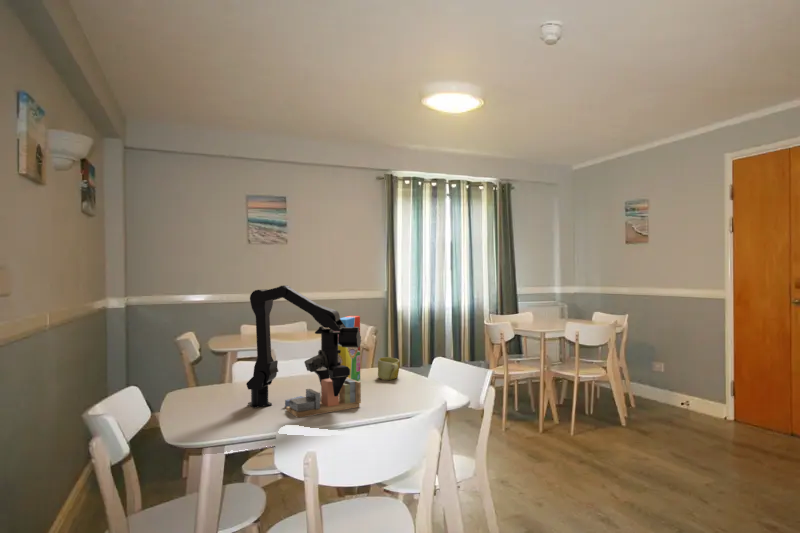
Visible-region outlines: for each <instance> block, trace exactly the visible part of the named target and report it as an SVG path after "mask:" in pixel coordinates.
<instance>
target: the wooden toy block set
mask: <svg viewBox="0 0 800 533" xmlns="http://www.w3.org/2000/svg"><path fill="white" fill-rule="evenodd" d="M361 388H362V385H361V382H360V381H359V380H358V381H356V380H353V379H350V378H346V380H345V382H344V384H343V386H342V388H341V390H340V392H339V405H333V406H326V405H324V404H322V403H321V400H320V409H313V410H307V411H301V412H297V411H295V410H293V409H292V408H290V407H289V406H288V407H285V408H286V409H285V410H287V411H286V412H288V413H290V415H293V416H295V417H296V418H304V417H308V416H314V415H320V414H326V413H331V412H338V411H343V410H348V409H354V408H360V404H361V403H362V396H361V394H362V393H361V392H362V389H361Z"/></svg>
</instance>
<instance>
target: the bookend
mask: <svg viewBox="0 0 800 533" xmlns="http://www.w3.org/2000/svg"><path fill="white" fill-rule="evenodd" d="M302 397H303V398H297V399H292V398H289V399H290V400H289V407H290V408H292V409H293V410H295V411H297V412H301V411H307V410H313V409H320V401H321V393H320V392H318V391H316V390H314V389H311V388H307V389H305V396H302Z"/></svg>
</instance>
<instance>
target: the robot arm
mask: <svg viewBox="0 0 800 533" xmlns="http://www.w3.org/2000/svg"><path fill="white" fill-rule="evenodd" d="M280 299H284V300H285V301H287V302H290V303H291V304H292V305H294V306H296V307H298V308H299V309H301V310H303V311H304V312H306V313H308V314H309V315H311V317H312V318H313V319H314V320H315V321H316V322H317V323H318V324H319V325H320V326H319V327H318V329H316V331H315V332H314V334H316V335H321V336H320V342H321V345H320V349H318V351H317V352H318V353H317V355H314V356H312V357H310V358H308V359H306V360H305V361H304V365H305V368H306V371H307V372H310V373H315V374H316V375H317V377H318V381H319V383H320V385H321V380H322V379H329V378H330V379H331V380H332V383H333V391H334V396H338V394H339V392H340V390H341V388H342V386H343V384H344V382H345V380H346V378H347V377H348V375H350V369H349V368H348V367H347V366H344V365H341V362H338V353H341V350H338V341H339V344H340V345H341V346H342V347H354V348H359V347H360V348H361V344H362V336H361V330H360V331H359V327H353V328H349V327H346V326H345V325H344V324H343V322H342V321H341V320H340V318H341V317H340V313H339V311H338V310H336V309H334V308H331V307H328V306H325V305H321V304H318V303H317V302H316V301H313V300H311V299H310V298H308V297H306V296H305V295H303V294H302V293H300V292H299V291H296V290H295V289H293V288H292V287H291V286H289V285H279V286H277V287H274V288H270V289H255V290H253V291H252V292H251V293H250V295H249V302H250V306H251V309H252V312H253V313H254V316H255V328H256V329H255V330H256V332H255V333H256V354H257V356H256V360H255V364H254V366H253V375H252V377H250V378H249V380H248V381H247V382H246V384H245V385H246V387H247V390H250V402H247V404H248V406H250V407H251V408H253V409H255V408H256V409H257V408H261V407H267V406H272V402H270V401H269V386H270V385H272V383H273V380H274V379H275V378H276V377H277V374H278V373H279V369H278V359H277V360H275V359H273V357H272V345H271V344H272V342H271V341H272V340H271V339H272V338H271V322H270V321H271V320H270V316H271V311H272V309H273V306H274V301H276V300H277V301H278V300H280ZM336 331H340V332H336ZM338 334H339V337H338ZM340 365H341V366H340Z"/></svg>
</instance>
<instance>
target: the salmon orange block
mask: <svg viewBox="0 0 800 533" xmlns="http://www.w3.org/2000/svg"><path fill="white" fill-rule="evenodd" d="M320 386H321V387H320V388H321V393H320V401H321V403H322V404H324V405H326V406H333V405H339V394H338V396H334V391H333V383H332V380H331V379H330V378H329V379H322V380H321V384H320Z"/></svg>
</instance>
